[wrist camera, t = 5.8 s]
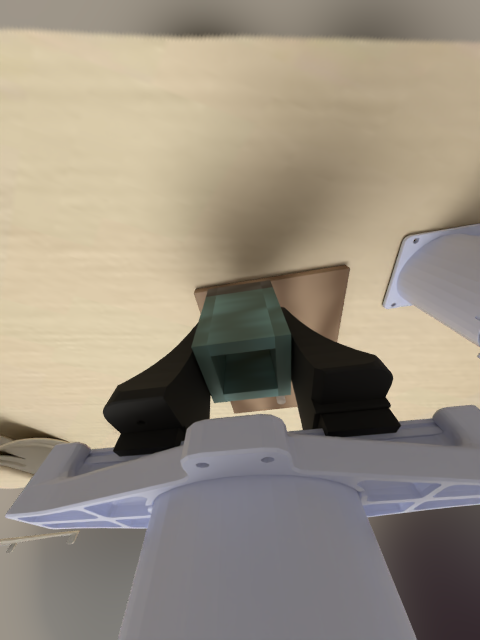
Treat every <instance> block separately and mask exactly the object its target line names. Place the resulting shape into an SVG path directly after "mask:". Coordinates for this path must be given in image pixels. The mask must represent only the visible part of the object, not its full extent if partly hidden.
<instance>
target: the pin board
mask: <svg viewBox="0 0 480 640" xmlns="http://www.w3.org/2000/svg"><path fill="white" fill-rule="evenodd" d="M349 271H350V268H349V267H347V266H346V265H342V266H336V267H330V268H324V269H317V270H311V271H305V272H299V273H293V274H287V275H280V276H274V277H268V278H262V279H256V280H250V281H243V282H237V283H231V284H225V285H219V286H213V287H207V288H200V289H196V290H195V292H194V295H195V298H196V301H197V304H198V307H199V310H200V313H201V312H202V309H203V305H204V302H205V298H206V295H207V291H208V289H213V288H220V287H227V286H233V285H240V284H246V283H253V282H260V281H266V280H270V281H271V284H272V286H273V289H274V291H275V294H276V297H277V299H278V302H279V304H280V307H285V308H286V309H287V310H288V311H289V312H290V313H291V314H292V315H293V316H295V317H296V318H297V319H298V320H299V321H301V322H302V323H303V324H305V325H306V326H307V327H309V328H310V329H312V330H313V331H315V332H317V333H319V334H320V335H322V336H324V337H326V338H328V339H330V340H332V341H335V342H337V339H338V334H339V328H340V322H341V316H342V311H343V305H344V299H345V294H346V288H347V282H348V276H349ZM230 402H231V404H232V407H233V410H234V413H243V412H253V411H262V410H271V409H280V408H290V407H298V406H297V401H296V397H295V393H294V389H293V385H292V381H291V395H285V396H275V397H266V398H256V399H247V400H237V401H230Z"/></svg>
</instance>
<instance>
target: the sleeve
mask: <svg viewBox="0 0 480 640" xmlns="http://www.w3.org/2000/svg"><path fill="white" fill-rule="evenodd" d="M191 348H192V350H193V353H194V355H195V357H196V360H197V362H198V365H199V367H200V370H201V372H202V375H203V377H204V379H205V382H206V384H207V387H208V389H209V392H210V394H211V396H212V399H213V401H214V403H218V402H228V401H237V400H247V399H256V398H266V397H275V396H285V395H291V333H290V330H289V327H288V325H287V322H286V320H285V317H284V315H283V312H282V309H281V307H280V304H279V302H278V299H277V297H276V294H275V291H274V289H273V286H272V284H271V281H270V280H266V281H260V282H253V283H246V284H240V285H233V286H227V287H220V288H213V289H208V291H207V295H206V298H205V302H204V305H203V309H202V312H201V316H200V319H199V322H198V326H197V329H196V333H195V336H194V340H193V343H192V346H191Z"/></svg>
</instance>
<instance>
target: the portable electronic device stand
mask: <svg viewBox="0 0 480 640" xmlns="http://www.w3.org/2000/svg"><path fill="white" fill-rule="evenodd" d="M63 443H70V442H66V441H62V440H58V439H51V438H28V439H20V440H14V439H12V438H9V437H6V436H3V435H0V451H3V452H6V453H9V454H12V455H16V456H9V455H0V465H2V466H8V467H11V468H15V469H18V470H22V471H25V472H29V473H32V474H35V473H36V471H37V470H38V469H39V467H40V466H41V464H42V463H43V462H44V460H45V459H46V457H47V456H48V455H49V453H50V452H51V450H52V449H53V448H54V446H55V445H57V444H63ZM18 456H19V457H18ZM79 532H80V530H78V531H69V532H61V533H52V534H43V535H34V536H25V537H16V538H8V539H0V546H5V545H10V544H11V545H10V547H9V548H8V550H7V553H11V552H12V551H13V550H14V548H15V547H16V545H17V543H18V542H24V541H30V540H37V539H43V538H49V537H55V536H67V535H70V536H69V539H68V541H67V544H73V543H74V542H75V539H76V537H77V534H78V533H79Z"/></svg>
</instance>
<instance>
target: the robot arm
mask: <svg viewBox="0 0 480 640" xmlns="http://www.w3.org/2000/svg"><path fill="white" fill-rule="evenodd" d="M414 239H416V240H415V241H414ZM413 241H414V242H413ZM411 305H414V306H415V307H417V308H419V309H420V310H422V311H423V312H425V313H427V314H428V315H430V316H431V317H433V318H434V319H436V320H438V321H439V322H441V323H442V324H444V325H446V326H447V327H449V328H450V329H452V330H453V331H455V332H457V333H458V334H460V335H461V336H463V337H465V338H466V339H468V340H469V341H471V342H472V343H474V344H476V345H477V346H479V347H480V223H479V224H473V225H468V226H462V227H456V228H450V229H444V230H438V231H432V232H426V233H420V234H415V235H409V236H407V237H405V238H404V240H403V242H402V245H401V248H400V251H399V254H398V257H397V261H396V264H395V267H394V270H393V273H392V277H391V280H390V283H389V286H388V289H387V293H386V296H385V299H384V302H383V307H384V308H386V309H390V308H397V307H404V306H411ZM281 309H282V312H283V315H284V317H285V320H286V322H287V325H288V327H289V330H290V333H291V381H292V385H293V389H294V393H295V397H296V401H297V406H298V410H299V414H300V419H301V423H302V428H303V430H300V431H289V432H287V430H286V426H285V424H284V422H283V421H282V419H280V418H278V417H275V416H273V415H268V414H256V415H245V416H235V417H225V418H215V419H210V396H211V394H210V392H209V389H208V387H207V384H206V382H205V379H204V377H203V375H202V372H201V370H200V367H199V365H198V362H197V360H196V357H195V355H194V353H193V350H192V348H191V346H192V343H193V340H194V336H195V333H196V329H197V326H198V323H197V325H196V326H195V327H194V328H193V329H192V330H191V332H190V333H189V334H188V335H187V336H186V337H185V338H184V339H183V340H182V341H181V342H180V344H179V345H178V346H176V347H175V348H174V349H173V350H172V351H171V352H170V353H169V354H167V355H166V356H165V357H164V358H162V359H161V360H160V361H158V362H157V363H156V364H154V365H153V366H151V367H150V368H148V369H147V370H145V371H143V372H142V373H140V374H138V375H137V376H135V377H133V378H131V379H129V380H128V381H126V382H124V383H122V384H120V385H118V386H117V388H116V389H115V391H114V392H113V394H112V396H111V397H110V399H109V401H108V402H107V404H106V405H105V407H104V409H103V414H104V417H105V419H106V420H107V421H108V422H109V423H110V424H111V425H112V426H113V427H114V428H116V429H117V430H118V431H119V432H120V433H121V435H120V437H119V439H118V441H117V443H116V445H115V447H113V448H102V449H90V447H88V446H87V445H86V444H84V443H80V442H74V443H63V444H57V445H55V446H54V448H53V449H52V450H51V452H50V453H49V455H48V456H47V457H46V459H45V460H44V462H43V463H42V464H41V466H40V467H39V469H38V470H37V471H36V473H35V474H34V476H33V477H32V478H31V480H30V481H29V483H28V484H27V485H26V487H25V488H24V490H23V491H22V492H21V494H20V495H19V497H18V498H17V499H16V501H15V502H14V503H13V505H12V506H11V508H10V509H9V511H8V512H7V513H6V515H5V516H6V518H9V519H13V520H17V521H21V522H25V523H29V524H33V525H37V526H41V527H45V528H49V529H67V528H68V529H69V528H147V531H146V535H145V538H144V542H143V546H142V550H141V554H140V558H139V561H138V565H137V569H136V572H135V576H134V580H133V584H132V588H131V592H130V596H129V599H128V603H127V607H126V611H125V614H124V618H123V622H122V626H121V629H120V633H119V637H118V640H417V639H416V636H415V634H414V632H413V630H412V627H411V624H410V622H409V619H408V617H407V614H406V612H405V609H404V607H403V604H402V602H401V599H400V597H399V594H398V592H397V590H396V587H395V584H394V582H393V580H392V577H391V575H390V572H389V570H388V567H387V565H386V562H385V560H384V557H383V555H382V552H381V550H380V547H379V545H378V542H377V540H376V537H375V535H374V532H373V530H372V528H371V526H370V523H369V520H368V518H367V517H373V516H381V515H389V514H398V513H405V512H413V511H422V510H430V509H438V508H448V507H458V506H468V505H480V410H479V409H478V408H477V407H476V406H475V405H465V406H454V407H446V408H442V409H439V410H438V411H436V412H435V414H434V415H433V417H432V418H431V419H420V420H409V421H398V420H397V419H396V417H395V416H394V414H393V413H392V412H391V410H390V409H389V408H390V406H391V405H390V403H389V401H388V400H387V399H386V395H387V393H388V391H389V389H390V387H391V384H392V381H393V375H392V373H391V372H390V371H389V370H388V368H387V367H386V366H385V365H384V364H383V362H382V361H381V360H380V359H379V358H378V357H377V356H376V355H373V354H369V353H366V352H362V351H359V350H356V349H353V348H350V347H347V346H344V345H342V344H339V343H337V342H335V341H332V340H330V339H328V338H326V337H324V336H322V335H320V334H319V333H317V332H315V331H313V330H312V329H310V328H309V327H307V326H306V325H305V324H303V323H302V322H301V321H299V320H298V319H297V318H296V317H295V316H293V315H292V314H291V313H290V312H289V311H288V310H287V309H286V308H285V307H281ZM477 357H478V358H480V353H479V354H478V355H477Z"/></svg>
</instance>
